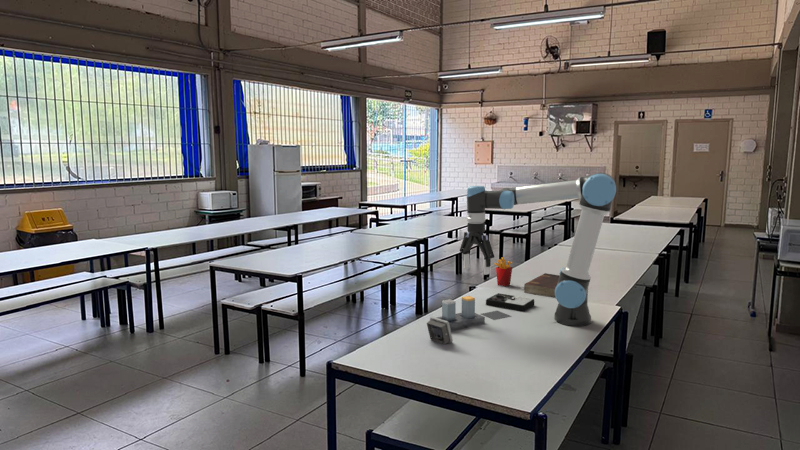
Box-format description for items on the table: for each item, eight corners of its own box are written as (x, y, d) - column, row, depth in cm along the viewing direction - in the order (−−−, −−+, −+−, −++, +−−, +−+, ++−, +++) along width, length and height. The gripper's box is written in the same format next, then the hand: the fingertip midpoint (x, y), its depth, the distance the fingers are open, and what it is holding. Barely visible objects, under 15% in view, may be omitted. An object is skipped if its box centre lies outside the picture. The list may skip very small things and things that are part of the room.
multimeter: (497, 300, 264) (497, 290, 264) (534, 306, 253) (535, 296, 252) (485, 306, 254) (485, 296, 253) (523, 313, 243) (523, 302, 242)
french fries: (512, 284, 292) (513, 257, 290) (504, 287, 286) (504, 260, 284) (498, 282, 298) (499, 255, 296) (490, 285, 292) (490, 258, 290)
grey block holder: (484, 323, 227) (484, 298, 226) (445, 331, 218) (445, 305, 216) (470, 317, 236) (470, 293, 234) (432, 325, 226) (432, 299, 225)
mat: (512, 317, 236) (512, 316, 236) (494, 320, 231) (494, 319, 231) (497, 311, 245) (497, 310, 245) (479, 314, 240) (479, 313, 240)
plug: (474, 320, 228) (474, 298, 227) (467, 322, 226) (467, 299, 225) (469, 318, 232) (469, 295, 230) (461, 319, 230) (461, 297, 229)
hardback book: (559, 299, 266) (560, 289, 265) (524, 293, 276) (524, 284, 276) (578, 286, 289) (578, 277, 288) (544, 281, 300) (545, 273, 299)
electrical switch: (453, 342, 206) (451, 320, 204) (444, 347, 202) (442, 324, 200) (435, 337, 212) (433, 314, 210) (426, 341, 209) (424, 319, 207)
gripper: (451, 220, 236) (452, 267, 239) (488, 226, 215) (488, 277, 217) (464, 219, 240) (465, 265, 242) (502, 224, 218) (502, 275, 221)
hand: (476, 271), depth 230 cm, fingers open, 13 cm apart
